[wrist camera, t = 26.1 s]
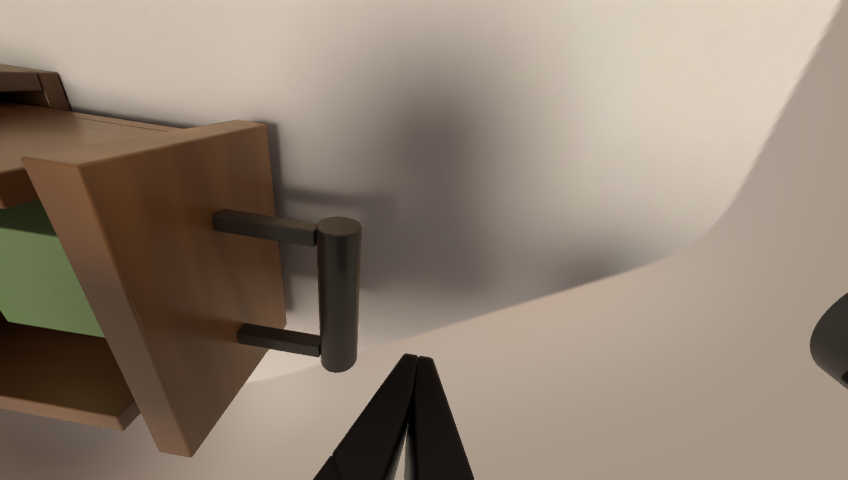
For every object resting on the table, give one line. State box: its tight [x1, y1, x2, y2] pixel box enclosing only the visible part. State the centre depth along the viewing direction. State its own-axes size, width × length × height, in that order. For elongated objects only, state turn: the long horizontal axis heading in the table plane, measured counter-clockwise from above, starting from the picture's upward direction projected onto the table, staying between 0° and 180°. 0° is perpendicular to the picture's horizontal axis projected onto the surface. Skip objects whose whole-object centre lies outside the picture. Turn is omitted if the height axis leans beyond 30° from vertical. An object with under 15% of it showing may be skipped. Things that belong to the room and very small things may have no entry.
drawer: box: [0, 101, 362, 457], centre depth 11 cm, size 20×10×7 cm, turn 83°
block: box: [0, 199, 105, 338], centre depth 12 cm, size 4×4×4 cm
